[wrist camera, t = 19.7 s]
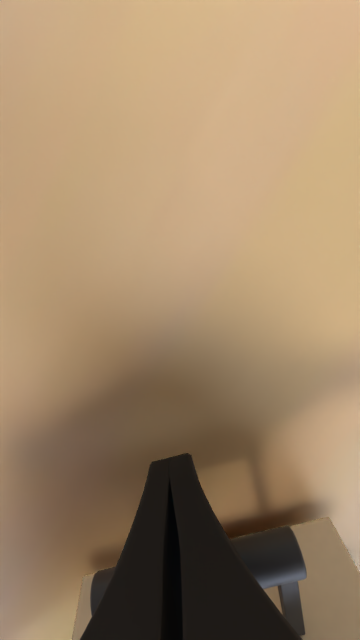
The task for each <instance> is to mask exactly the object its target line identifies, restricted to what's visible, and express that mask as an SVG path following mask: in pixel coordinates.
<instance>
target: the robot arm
mask: <svg viewBox="0 0 360 640" xmlns="http://www.w3.org/2000/svg"><path fill="white" fill-rule="evenodd" d="M80 640H303V639H302V638H301V637H300V636H299V635H298V633H297V632H296V631H295V630H294V628H293V627H292V626H291V625H290V624H289V622H288V621H287V620H286V619H285V617H284V616H283V615H282V613H281V612H280V611H279V609H278V608H277V607H276V605H275V604H274V603H273V601H272V600H271V599H270V598H269V596H268V595H267V594H266V592H265V591H264V590H263V588H262V587H261V586H260V584H259V583H258V582H257V580H256V579H255V577H254V576H253V574H252V573H251V572H250V570H249V569H248V567H247V566H246V564H245V563H244V561H243V560H242V558H241V557H240V555H239V554H238V552H237V551H236V549H235V548H234V546H233V544H232V543H231V541H230V540H229V538H228V536H227V535H226V533H225V531H224V530H223V528H222V526H221V524H220V523H219V521H218V519H217V517H216V516H215V514H214V512H213V510H212V508H211V506H210V504H209V502H208V500H207V498H206V496H205V494H204V492H203V490H202V488H201V485H200V483H199V480H198V477H197V473H196V470H195V466H194V463H193V459H192V456H191V455H190V454H188V453H186V454H182V455H178V456H174V457H170V458H166V459H162V460H158V461H154V462H152V463H151V464H150V467H149V471H148V476H147V480H146V483H145V487H144V490H143V494H142V497H141V500H140V504H139V507H138V510H137V513H136V516H135V518H134V521H133V524H132V527H131V530H130V533H129V535H128V538H127V540H126V543H125V545H124V548H123V550H122V553H121V555H120V558H119V560H118V563H117V565H116V567H115V570H114V572H113V574H112V576H111V579H110V581H109V583H108V585H107V587H106V589H105V591H104V593H103V596H102V598H101V600H100V602H99V604H98V606H97V608H96V609H95V611H94V613H93V615H92V617H91V619H90V621H89V623H88V625H87V627H86V629H85V631H84V633H83V634H82V636H81V638H80Z"/></svg>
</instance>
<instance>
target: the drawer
mask: <svg viewBox="0 0 360 640" xmlns="http://www.w3.org/2000/svg"><path fill="white" fill-rule="evenodd" d="M229 540H230V541H231V543H232V544H233V546H234V548H235V549H236V551H237V552H238V554H239V555H240V557H241V558H242V560H243V561H244V563H245V564H246V566H247V567H248V569H249V570H250V572H251V573H252V574H253V576H254V577H255V579H256V580H257V582H258V583H259V584H260V586H261V587H262V588H263V590H264V591H265V592H266V594H267V595H268V596H269V598H270V599H271V600H272V601H273V603H274V604H275V605H276V607H277V608H278V609H279V611H280V612H281V613H282V615H283V616H284V617H285V619H286V620H287V621H288V622H289V624H290V625H291V626H292V627H293V628H294V630H295V631H296V632H297V633H298V635H299V636H300V637H301V638H302V639H303V640H360V573H359V571H358V569H357V567H356V565H355V564H354V562H353V560H352V558H351V556H350V554H349V553H348V551H347V549H346V547H345V545H344V543H343V542H342V540H341V538H340V536H339V534H338V533H337V531H336V529H335V527H334V525H333V523H332V522H331V520H330V518H329V517H326V518H322V519H318V520H314V521H309V522H305V523H301V524H297V525H293V526H287V525H286V526H282V527H278V528H274V529H270V530H266V531H261V532H257V533H253V534H249V535H245V536H241V537H237V538H232V539H229ZM114 570H115V567H112V568H108V569H104V570H99V571H98V572H96V573H93V574H89V575H85V576H83V579H82V585H81V590H80V596H79V602H78V608H77V613H76V619H75V625H74V630H73V636H72V640H80V638H81V636H82V634H83V633H84V631H85V629H86V627H87V625H88V623H89V621H90V619H91V617H92V615H93V613H94V611H95V609H96V608H97V606H98V604H99V602H100V600H101V598H102V596H103V593H104V591H105V589H106V587H107V585H108V583H109V581H110V579H111V576H112V574H113V572H114Z"/></svg>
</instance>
